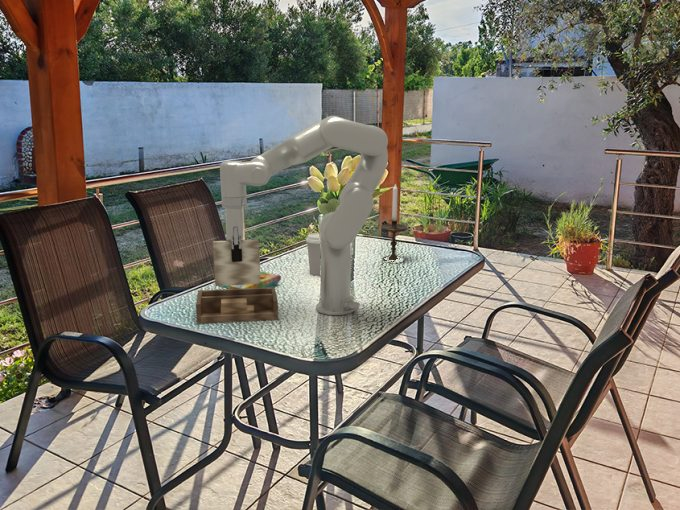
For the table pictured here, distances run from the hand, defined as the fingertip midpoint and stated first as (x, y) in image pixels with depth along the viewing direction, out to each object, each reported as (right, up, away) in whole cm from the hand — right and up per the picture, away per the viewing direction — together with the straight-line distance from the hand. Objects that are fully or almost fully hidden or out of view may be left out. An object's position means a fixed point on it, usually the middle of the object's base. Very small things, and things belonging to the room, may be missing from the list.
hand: (237, 260), depth 202 cm
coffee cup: (+24, -6, +48) cm, 54 cm away
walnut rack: (0, -18, 0) cm, 18 cm away
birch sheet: (0, -8, +2) cm, 8 cm away
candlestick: (+54, -1, +68) cm, 86 cm away
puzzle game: (0, -11, +29) cm, 31 cm away
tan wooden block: (+1, -17, -2) cm, 17 cm away
